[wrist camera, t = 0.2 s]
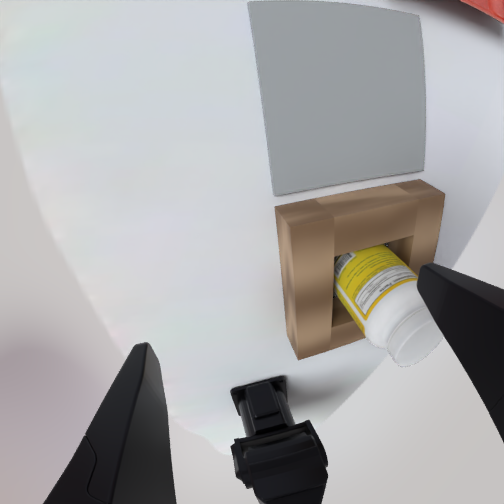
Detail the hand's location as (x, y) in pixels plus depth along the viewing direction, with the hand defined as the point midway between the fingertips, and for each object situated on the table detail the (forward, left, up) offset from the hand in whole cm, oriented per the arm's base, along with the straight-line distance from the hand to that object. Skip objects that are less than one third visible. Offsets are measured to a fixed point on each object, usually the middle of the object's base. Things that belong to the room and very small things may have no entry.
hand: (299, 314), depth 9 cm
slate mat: (+5, -10, -14) cm, 18 cm away
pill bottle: (-10, -10, -15) cm, 20 cm away
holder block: (-10, -10, -14) cm, 20 cm away
